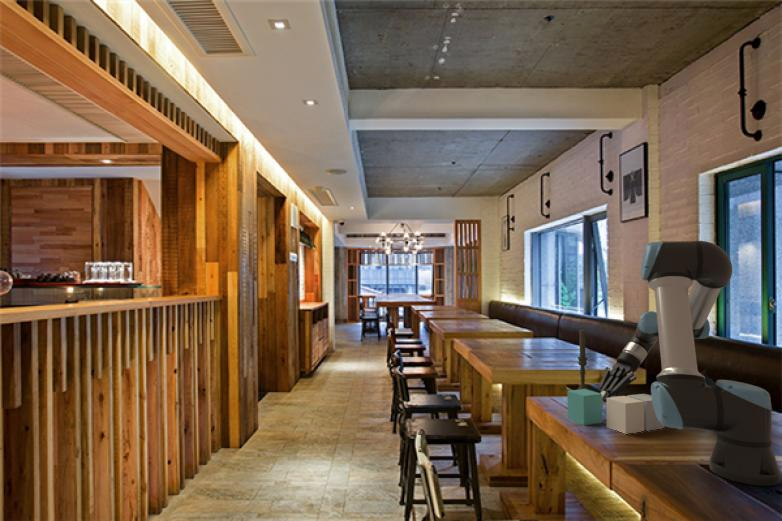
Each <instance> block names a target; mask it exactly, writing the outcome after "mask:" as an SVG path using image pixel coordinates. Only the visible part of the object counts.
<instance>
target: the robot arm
mask: <svg viewBox="0 0 782 521" xmlns="http://www.w3.org/2000/svg"><path fill="white" fill-rule="evenodd" d="M642 253H643V254H642V259H641V266H640V277H641V279H642V281H645V282H646V281H647V287H648V288H649V289H650V290H652V291H653V292H654V299H655V309H656V311H654V310H653V311H651V310H649V311H645V312H644V313H642V314H641V315H640V317H639V319H638V322H637V326H636V329H635V331H634V334H633V335H632V337H631V339H630V340H629V342H628V343H627V344H626V345H625V346H624V348H623V349H622V352H620V354H619V355H618V357H616V363H615V364H614V365H613V366H612V367H608V366H607V367H605V368H604V374H603V376H602V378H601V379H600V383H599V384H598V389H599V390H600V392H599V393H600V394H602V408H603V407H604V406H605V404H607V399H606V398H610V397H619V395H620V394H621V393H622V392H623V391H624V390H625V389H626V388H628V386H629V385H630V384H631V383H632V382H634V381H635V380H637V379H638V378H637V376H636V375H635V373H636V372H637V371H638V369H639V368H640V366H641V364H642V363H643V361H644V360H645V359H646V357H647V356H648V354H649V353H650V351H651V350H652V349H653V347H654V346H655V344H656V343H657V342H658V341H659V352H660V361H661V365H660V366H661V371H660V373H658V374H657V375H656V381H654V382H652V383H651V385H650V395H651V398H652V403H653V408H654V411H655V414H656V417H657V419H658V421H659V422H660V423H661V424H662V425H663V426H664V427H667V428H673V429H677V430H696V431H705V432H707V431H708V432H716V442H715V444H714V446H713V449H712V452H711V454H710V458H709V470H710V471H711V472H712V473H714V474H715V475H716V476H719V477H721V478H724V479H726V480H729V481H732V482H736V483H740V484H745V485H752V486H762V487H763V486H765V487H769V486H770V487H771V486H777V485H780V484H781V483H782V472H781V468H780V466H779V463H778V461H777V458H776V456H775V453H774V451H773V443H772V441H773V440H772V436H773V435H772V432H773V431H772V410H773V408H772V402H771V395H770V393H769V392H768V391H767V390H766V389H764V388H762V387H760V386H756V385H753V384H750V383H747V382H746V383H745V382H739V381H735V380H730V379H728V380H727V379H717V380H716V382H715V385H716V386H709V385H706V381H705V377H704V376H703V375H702V374H700V373H701V372H699V370H698V363H697V354H696V346H695V340H699V339H701V340H702V339H707V338H709V336H710V332H711V324H710V321H709V320H708V317H709V315H710V313H711V312H712V308H713V307H714V305H715V302H716V301H717V299H718V297H719V294H720V292H721V290H722V289H723V288H725V287H726V286H727V285H728V284H729V283H730V280H731V279H732V276H733V264H732V261H731V259H730V257H729V255H728V253H727V252H726V251H725V250H724V249H723V248H722V247H720V246H719V245H717V244H715V243H713V242H711V241H706V240H685V241H683V240H680V241H676V240H675V241H669V240H668V241H664V240H661V241H650V242H648V243H647V244H646V245H645V247H644V249H643V252H642ZM689 289H690V291H689Z"/></svg>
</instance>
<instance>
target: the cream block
mask: <svg viewBox="0 0 782 521" xmlns="http://www.w3.org/2000/svg"><path fill="white" fill-rule="evenodd" d="M627 396H628V395H626V396H625V395H621V396H619V395H618V396H611V397H610V398H606V399H607V403H606V428H607V429H609V428H610V429H609V430H611V429H613V430H612V431H614V430H617V431H619V432H622V433H625V434H628V433H634V434H637V433H636V432H641V431H644V401H641V400H637V399H634V398H630V397H627ZM617 431H616V432H617ZM619 432H618V433H619ZM644 432H645V431H644ZM622 433H621V434H622ZM641 433H642V432H641ZM625 434H624V435H625ZM628 435H629V434H628Z"/></svg>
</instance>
